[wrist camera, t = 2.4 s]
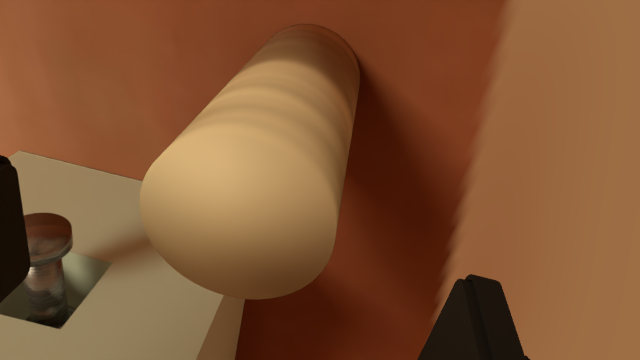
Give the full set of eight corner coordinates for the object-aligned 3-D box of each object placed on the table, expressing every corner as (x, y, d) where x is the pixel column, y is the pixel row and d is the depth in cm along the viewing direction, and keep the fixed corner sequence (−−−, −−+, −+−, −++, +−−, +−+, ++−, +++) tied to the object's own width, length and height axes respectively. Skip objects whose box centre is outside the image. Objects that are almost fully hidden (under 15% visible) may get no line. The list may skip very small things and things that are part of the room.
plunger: (102, 338, 19) (67, 390, 17) (47, 324, 19) (5, 374, 17) (93, 219, 15) (48, 265, 13) (26, 202, 15) (-30, 246, 13)
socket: (19, 150, 22) (-221, 304, 13) (260, 210, 22) (176, 403, 13) (47, 316, 28) (-103, 493, 19) (234, 363, 28) (166, 561, 19)
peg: (264, 11, 17) (138, 112, 8) (372, 38, 17) (357, 167, 8) (250, 113, 19) (139, 274, 11) (346, 136, 19) (313, 317, 11)
